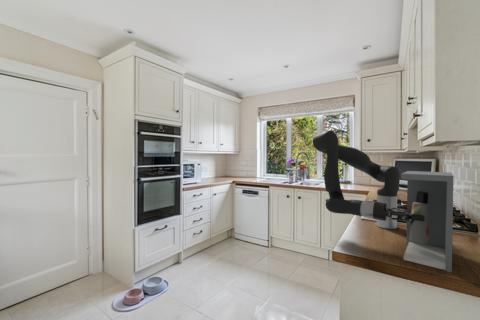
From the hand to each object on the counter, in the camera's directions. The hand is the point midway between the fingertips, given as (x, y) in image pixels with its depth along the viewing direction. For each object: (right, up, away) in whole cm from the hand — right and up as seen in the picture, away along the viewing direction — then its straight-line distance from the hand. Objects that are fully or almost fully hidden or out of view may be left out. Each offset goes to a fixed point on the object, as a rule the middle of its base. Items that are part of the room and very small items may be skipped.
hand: (424, 217), depth 88 cm
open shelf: (0, -15, 0) cm, 15 cm away
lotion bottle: (-1, -10, +2) cm, 10 cm away
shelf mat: (0, -15, 0) cm, 15 cm away
